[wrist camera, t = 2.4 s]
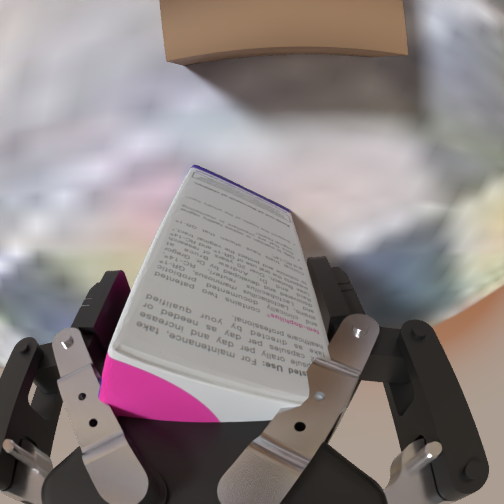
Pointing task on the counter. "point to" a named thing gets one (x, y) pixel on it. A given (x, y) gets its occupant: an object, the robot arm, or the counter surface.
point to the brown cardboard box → (281, 28)
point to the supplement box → (217, 313)
